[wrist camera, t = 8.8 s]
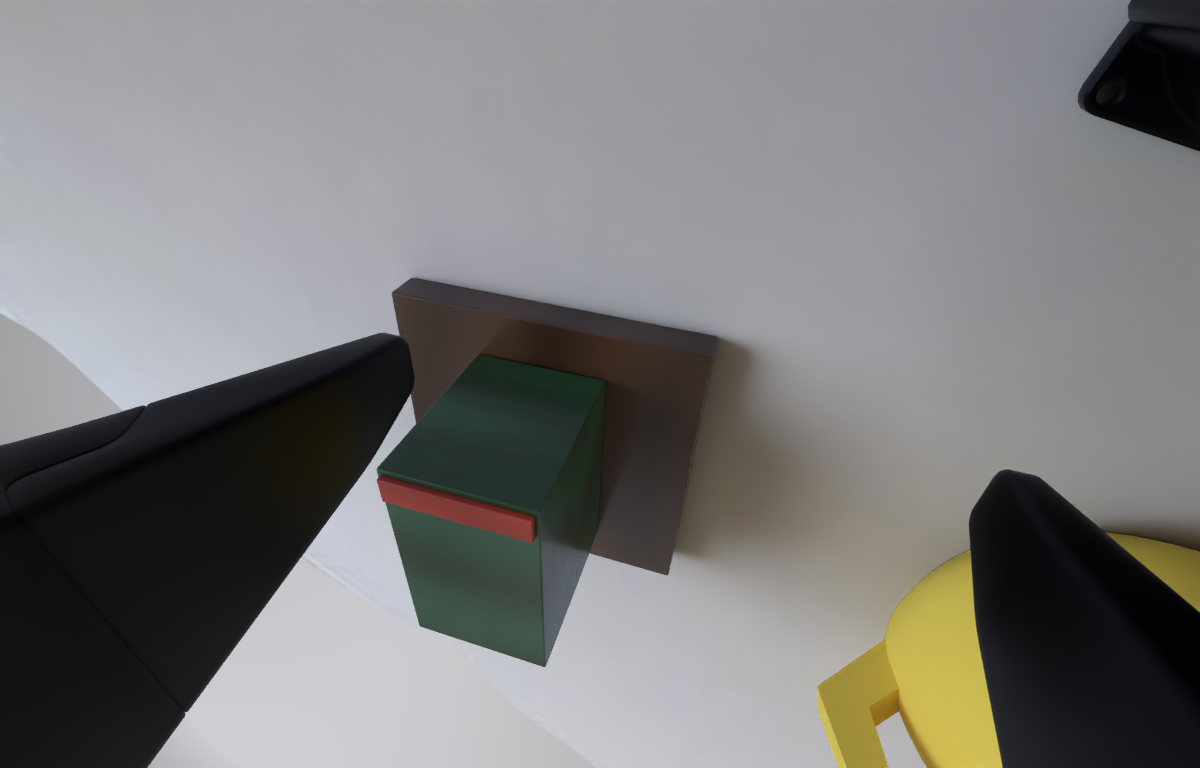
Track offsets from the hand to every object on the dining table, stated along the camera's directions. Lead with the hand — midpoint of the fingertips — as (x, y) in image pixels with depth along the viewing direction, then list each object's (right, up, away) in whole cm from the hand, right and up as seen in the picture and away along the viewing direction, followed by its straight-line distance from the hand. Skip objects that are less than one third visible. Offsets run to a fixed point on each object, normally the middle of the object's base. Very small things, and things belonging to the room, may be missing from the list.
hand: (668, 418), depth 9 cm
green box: (-4, -2, +17) cm, 17 cm away
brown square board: (-3, -2, +18) cm, 18 cm away
